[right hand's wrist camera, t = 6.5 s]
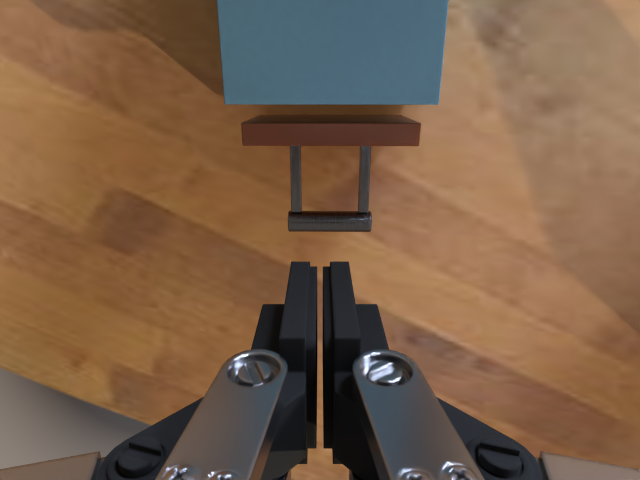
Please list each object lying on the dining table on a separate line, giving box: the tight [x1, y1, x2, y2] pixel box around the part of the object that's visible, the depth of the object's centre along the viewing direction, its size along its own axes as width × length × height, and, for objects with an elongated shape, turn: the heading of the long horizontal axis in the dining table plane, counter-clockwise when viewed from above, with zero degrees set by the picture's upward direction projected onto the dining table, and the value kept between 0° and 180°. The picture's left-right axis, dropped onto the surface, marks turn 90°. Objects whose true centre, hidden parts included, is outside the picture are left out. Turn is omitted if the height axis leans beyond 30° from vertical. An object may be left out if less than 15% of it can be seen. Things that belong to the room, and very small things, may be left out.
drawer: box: [241, 115, 421, 232], centre depth 23 cm, size 25×10×6 cm, turn 0°
